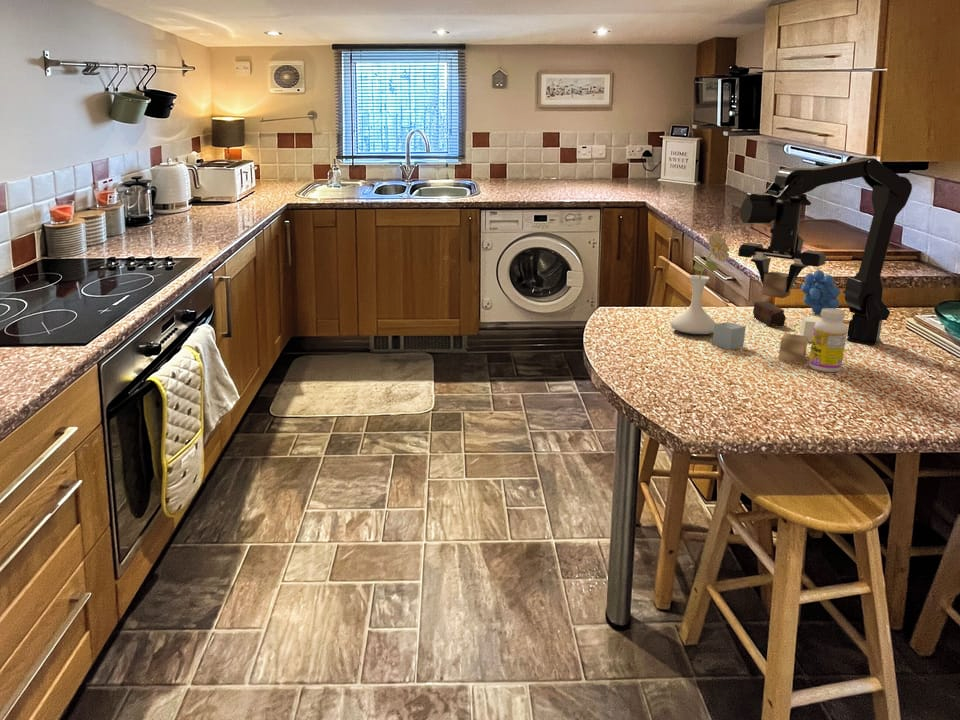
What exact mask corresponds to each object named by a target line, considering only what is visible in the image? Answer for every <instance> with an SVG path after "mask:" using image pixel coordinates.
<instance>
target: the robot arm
mask: <svg viewBox="0 0 960 720" xmlns="http://www.w3.org/2000/svg"><path fill="white" fill-rule="evenodd" d="M858 178H862V180H864V181H863V182H865V184H867V186H869V187H870V188H872V192H871V203H872V208H873V216H872V220H871V223H870V227H869V232H868V236H867V238H866V243H865V247H864V251H863V255H862V258H861V263H860V266H859V269H858V272H857V273H856V274H855V276H853V278H852V277H850V276H848V277H847V278H846V285H845V287H844V291H842V293H843V294H844V301H845V302H846V304H847V305H848V309H849V313H852V317H851V318H852V319H849V322H848V326H847V335H846V341H849V342H855V343H856V342H857V343H861V344H867V345H872V346H875V345H876V344H878V343H879V342H881V340H882V338H881V337H880V336H881V332H882V325H883V321H886V320H887V319H888V318H889V316H890V315H891V311H890V310H889V309H888V307H887V305H885V303H884V302H883V293H884V288H883V283H882V278H881V277H882V271H883V268H884V264H885V259H886V256H887V252H888V249H889V246H890V245H889V244H890V243H891V237H892V233H893V230H894V226H895V222H896V219H897V216H898V215H899V213H900V212H901V211H902V210H903V209H904V207H905V206H906V205H907V203H908V201H909V199H910V196H911V193H912V192H913V191H912V190H913V184H912V183H911V180H910V179H909V178H907V177H905V176H901V175H899V174H898V173H896V172H895V171H893V170H891V169H890V168H889V167H887V166H885V165H884V164H882V163H881V162H880V161H879V160H877V158H876V159H875V158H874V157H866V156H865V157H860V158H857V159H853V160H848V161H843V162H838V163H832V164H828V165H823V166H818V167H784V168H781V169H780V170H778V172H777V173H776V175H775V177H774V180H773V181H772V183H771V184H769V185H768V187H767V189H765V191H764V192H763V193H762V194H761V193H753V192H747V193H746V198H745V199H744V200H743V202H742V203H741V206H740V210H739V213H740V214H739V216H740V220H741V222H742V223H743V224H755V225H756V224H757V225H764V224H765V225H769V224H770V223H771V222H772V227H771V228H770V229H769V233H770V241H769V245H768V246H767V247H764V244H762V243H755V242H747V243H746V242H745V243H742V244H740V246H739V248H738V253H737V256H738V257H743V258H751V260H750V261H751V262H753V263H754V265H755V266H756V269H757V272H758V274H759V277H760V281H761V284H762V286H763V282H764V274H766V273H769V272H770V271H769V270H770V264H771V260H772V258H777V259H778V258H779V259H785V260H793V263H792V264H791V263H790V265H789V270H788V274H789V275H788V281H787V289H786V292H787V293H789V292H790V293H791V291H790V290H792V287H793V286H794V284H795V282H796V280H797V278H798V276H799V275H800V273H801V272H802V270H803V269H805V268H808V267H817V268H818V267H821V266H823V265H825V264H826V253H825V252H824V251H817V250H810V249H808V250H805V251H803V252H802V250H803V245H804V238H802V236H800V228H799V224H800V219H801V218H800V217H801V212H802V211H801V210H802V206H811V205H812V203H811V201H810V200H809V199H808V198H807V196H806V193H809V192H811V191H813V190H815V189H817V188H818V187H820V186H823V185H824V186H825V185H828V184H829V185H830V184H833V183H838V182H843V181H849V180H852V179H858Z"/></svg>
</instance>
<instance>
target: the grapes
mask: <svg viewBox="0 0 960 720" xmlns="http://www.w3.org/2000/svg"><path fill="white" fill-rule="evenodd" d="M804 281H805V282H804V283H802V284H801V287H800V289H801V291H802V293H803V294H805V295H804V297H803V301H804V304H805V305H806V306H808V307H811V310H812V312H813V314H815V315H821V310H822V309H825V308H833V309H838V308H839V307H840V301H839V299H838V297H839V296H840V295H841V290H840V288H839V287H838V286H837V285H834V284H835V278H834V277H833V275H830V274H826V275H825V272H823V271H822V270H820V269H816V270H815V272H814V273H807V274H806V275H805V277H804Z"/></svg>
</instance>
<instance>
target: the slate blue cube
mask: <svg viewBox="0 0 960 720" xmlns="http://www.w3.org/2000/svg"><path fill="white" fill-rule="evenodd" d="M746 327H747V326H745V325H742V324H738V323H734V322H729V321H726V322H720V323H716V324H715V325H714V332H712V333H713V335H712V344H711V345H712V346H715V347H718V348H721V349H725V350H728V351H729V350H730V351H731V350H736V349H741V348H744V342H745V335H746V334H745V333H746V329H747V328H746Z"/></svg>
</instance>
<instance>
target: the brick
mask: <svg viewBox="0 0 960 720" xmlns="http://www.w3.org/2000/svg"><path fill="white" fill-rule="evenodd" d="M752 314H753V319H755V318H756V319H755V320H756V321H758V320H759V321H758V322H759V323H762V324H763V323H764V324H763V325H765V324H766V326H767V327H770V328H775V327H777V328H783V327H784V326H785V324H786V322H785V321H786V315H785V309H783V308H781V307H779V306H777V305H775V304H773V303H771V302H769V301H754V303H753V310H752Z"/></svg>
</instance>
